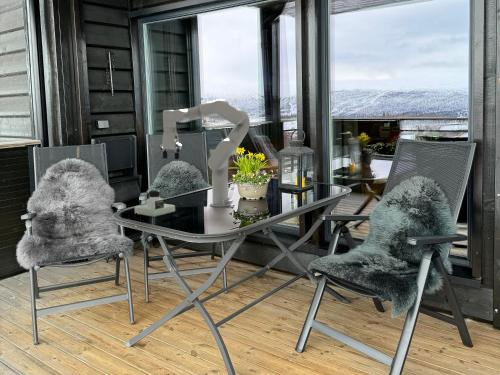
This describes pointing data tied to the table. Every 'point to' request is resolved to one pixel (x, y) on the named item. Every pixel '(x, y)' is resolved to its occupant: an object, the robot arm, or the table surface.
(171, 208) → the tray
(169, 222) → the table surface
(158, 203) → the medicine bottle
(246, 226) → the table surface
